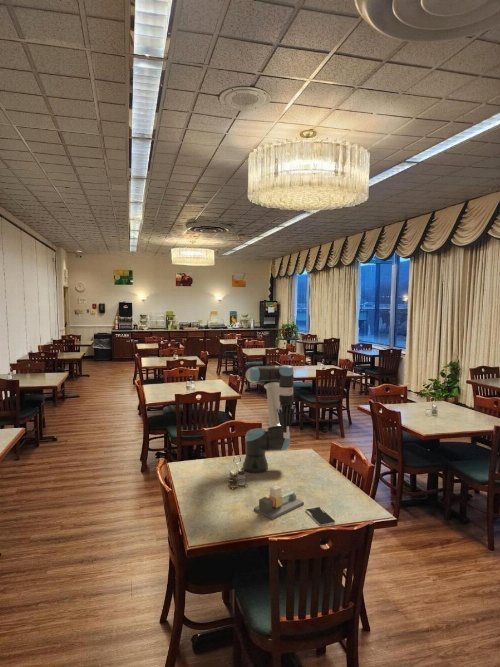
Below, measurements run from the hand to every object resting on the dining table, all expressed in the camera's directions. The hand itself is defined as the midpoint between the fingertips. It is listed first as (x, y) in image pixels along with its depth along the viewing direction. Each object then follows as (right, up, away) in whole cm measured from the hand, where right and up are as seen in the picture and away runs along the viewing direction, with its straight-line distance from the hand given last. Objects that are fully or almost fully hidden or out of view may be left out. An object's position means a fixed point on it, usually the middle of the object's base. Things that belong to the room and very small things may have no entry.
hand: (286, 438), depth 220 cm
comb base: (-5, -28, -22) cm, 36 cm away
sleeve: (-7, -26, -24) cm, 36 cm away
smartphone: (+13, -29, -32) cm, 45 cm away
